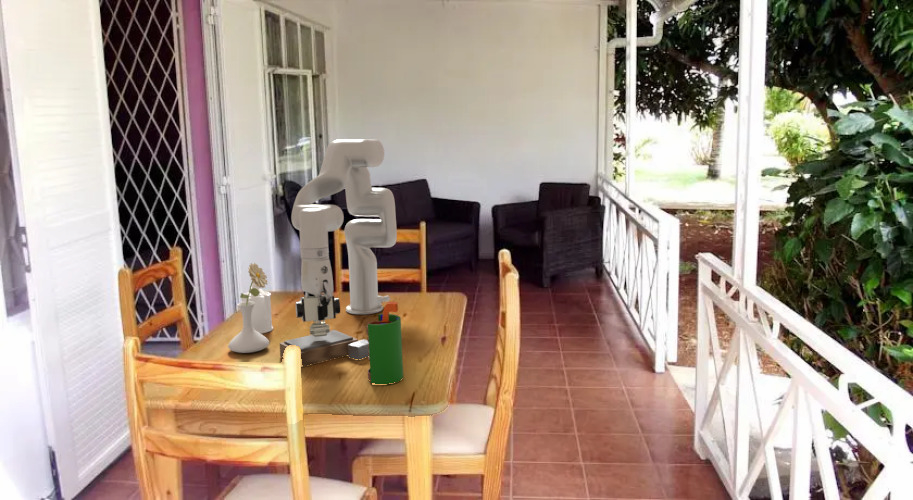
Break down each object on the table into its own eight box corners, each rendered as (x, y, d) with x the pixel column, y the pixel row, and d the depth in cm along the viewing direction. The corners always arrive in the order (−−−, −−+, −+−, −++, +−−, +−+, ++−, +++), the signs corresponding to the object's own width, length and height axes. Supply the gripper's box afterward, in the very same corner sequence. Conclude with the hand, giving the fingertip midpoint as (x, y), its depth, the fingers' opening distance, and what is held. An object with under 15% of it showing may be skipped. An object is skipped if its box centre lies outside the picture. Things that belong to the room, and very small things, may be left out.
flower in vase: (247, 358, 203) (242, 270, 198) (220, 352, 209) (213, 266, 204) (282, 346, 214) (277, 262, 209) (254, 340, 220) (249, 258, 215)
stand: (336, 343, 216) (335, 328, 215) (358, 353, 207) (357, 337, 206) (280, 356, 204) (279, 341, 203) (301, 367, 195) (300, 351, 194)
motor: (368, 372, 191) (366, 297, 187) (403, 371, 192) (401, 296, 188) (367, 386, 181) (364, 308, 177) (403, 385, 182) (401, 306, 178)
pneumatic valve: (342, 334, 202) (339, 291, 202) (299, 339, 199) (295, 295, 198) (339, 331, 208) (336, 289, 207) (297, 335, 204) (294, 293, 204)
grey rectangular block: (363, 352, 207) (363, 339, 207) (374, 355, 205) (373, 341, 204) (348, 358, 203) (347, 344, 202) (358, 361, 200) (358, 347, 200)
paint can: (236, 330, 230) (232, 268, 226) (262, 324, 237) (258, 263, 233) (255, 337, 223) (251, 273, 219) (281, 330, 230) (277, 268, 226)
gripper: (343, 255, 196) (345, 320, 199) (311, 247, 209) (314, 309, 212) (318, 259, 191) (321, 326, 195) (287, 251, 204) (290, 313, 208)
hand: (317, 316), depth 203 cm, fingers closed on pneumatic valve, 5 cm apart
